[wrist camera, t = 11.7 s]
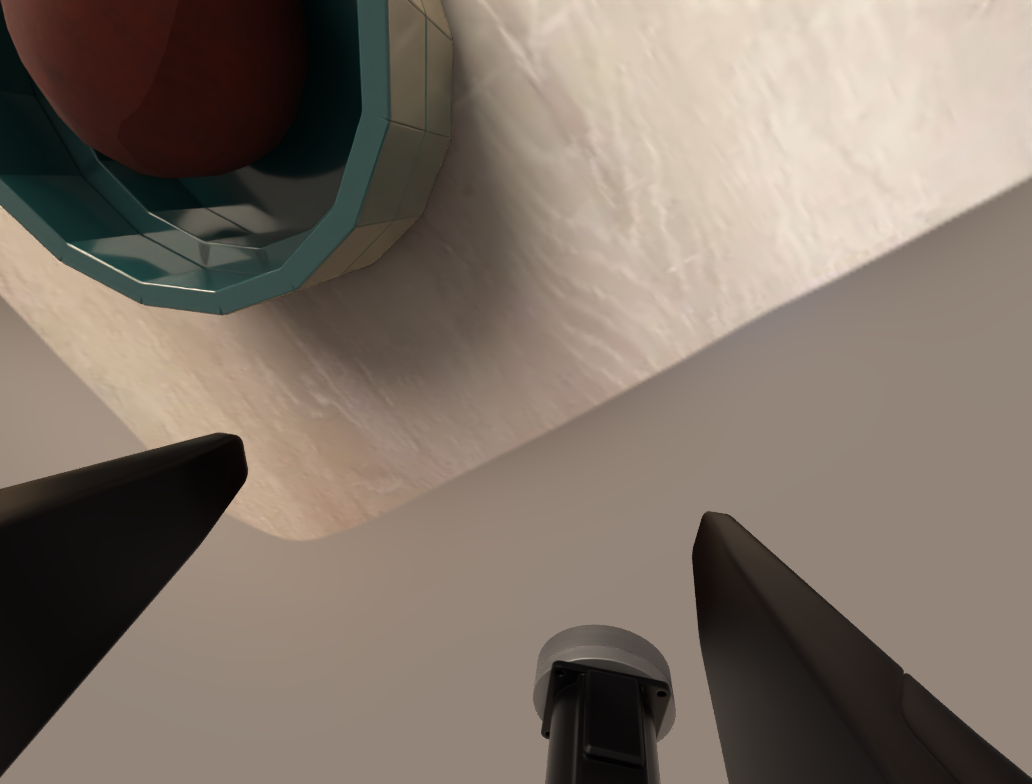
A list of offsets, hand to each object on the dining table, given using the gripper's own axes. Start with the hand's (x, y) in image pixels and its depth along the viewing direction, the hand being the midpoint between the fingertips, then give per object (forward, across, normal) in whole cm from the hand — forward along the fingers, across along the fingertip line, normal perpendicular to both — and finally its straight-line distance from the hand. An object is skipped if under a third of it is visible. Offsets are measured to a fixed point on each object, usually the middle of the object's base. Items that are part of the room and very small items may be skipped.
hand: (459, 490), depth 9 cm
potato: (+12, +12, -8) cm, 18 cm away
